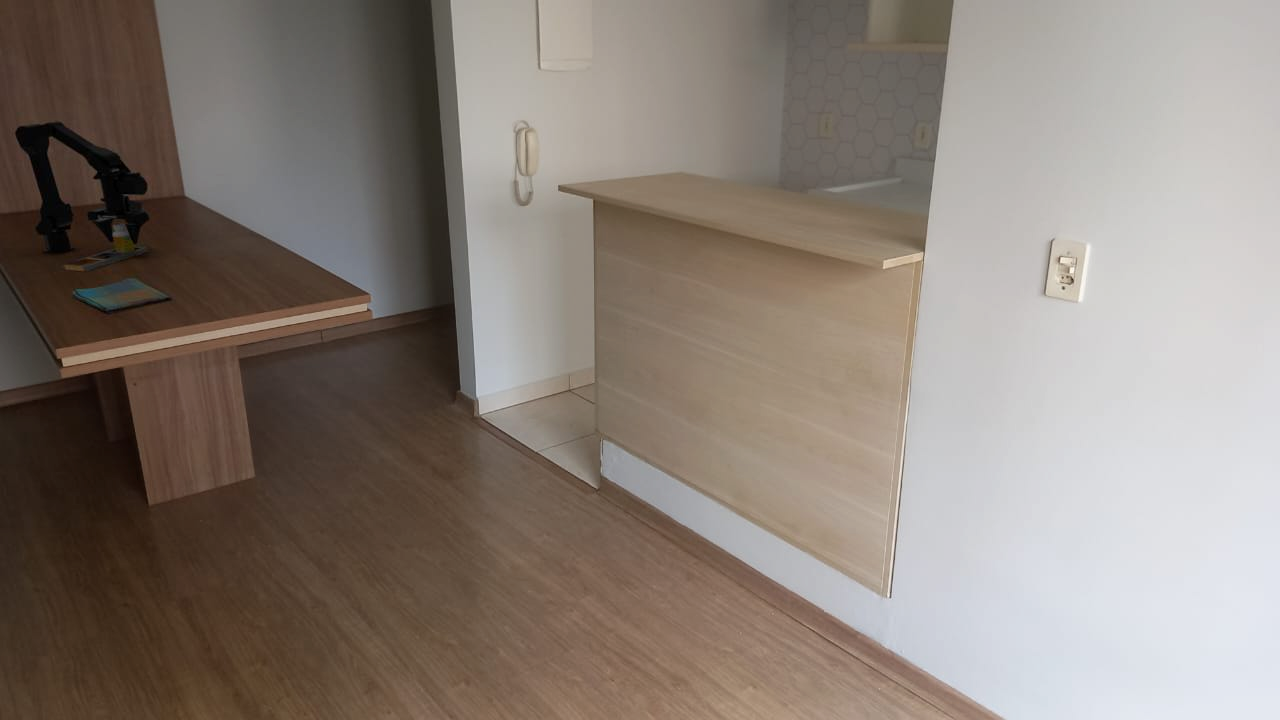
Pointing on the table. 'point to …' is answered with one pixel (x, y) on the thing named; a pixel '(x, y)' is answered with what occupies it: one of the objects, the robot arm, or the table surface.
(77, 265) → the divided tray
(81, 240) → the table surface
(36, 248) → the table surface
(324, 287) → the table surface
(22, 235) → the table surface
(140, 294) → the dish towel
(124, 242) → the supplement bottle
